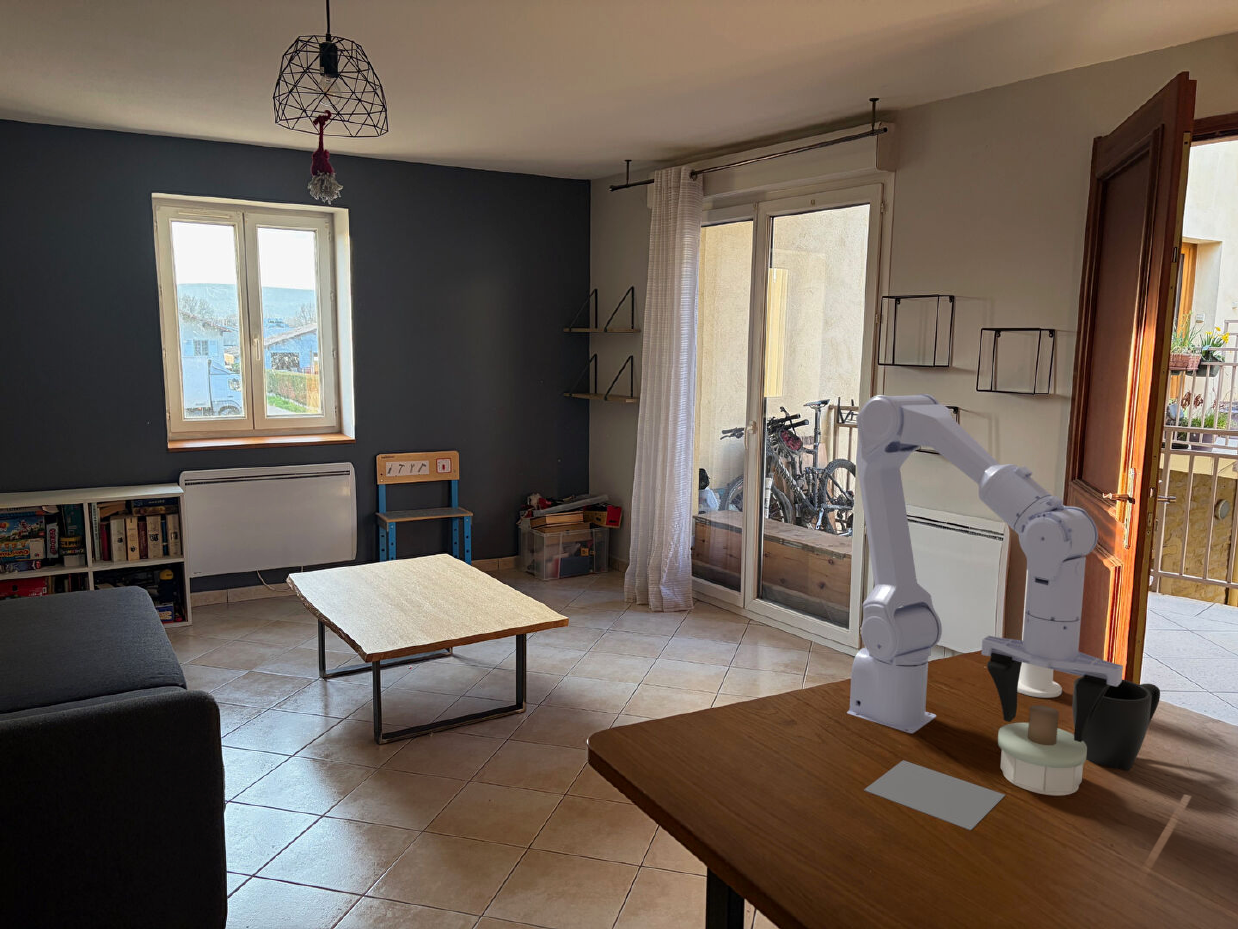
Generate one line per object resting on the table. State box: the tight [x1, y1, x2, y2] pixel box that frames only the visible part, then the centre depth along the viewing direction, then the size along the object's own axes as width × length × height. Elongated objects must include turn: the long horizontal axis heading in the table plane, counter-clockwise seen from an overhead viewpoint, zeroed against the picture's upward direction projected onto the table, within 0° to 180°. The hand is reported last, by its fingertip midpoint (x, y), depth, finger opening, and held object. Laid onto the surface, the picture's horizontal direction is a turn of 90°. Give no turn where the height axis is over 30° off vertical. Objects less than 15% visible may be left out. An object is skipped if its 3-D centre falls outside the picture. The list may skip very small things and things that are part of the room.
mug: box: [1071, 676, 1161, 772], centre depth 107 cm, size 8×12×10 cm
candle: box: [1017, 569, 1063, 699], centre depth 129 cm, size 7×7×25 cm
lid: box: [997, 704, 1087, 768], centre depth 100 cm, size 9×9×5 cm
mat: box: [863, 759, 1006, 831], centre depth 98 cm, size 12×10×1 cm
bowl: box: [1000, 749, 1084, 796], centre depth 101 cm, size 8×8×4 cm
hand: (1043, 728), depth 101 cm, fingers open, 7 cm apart
